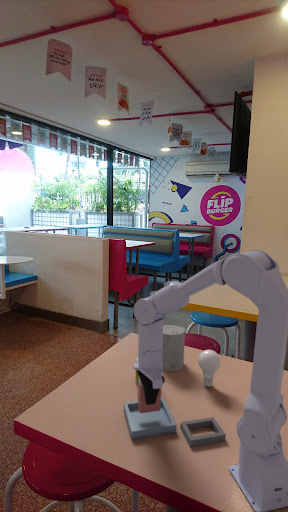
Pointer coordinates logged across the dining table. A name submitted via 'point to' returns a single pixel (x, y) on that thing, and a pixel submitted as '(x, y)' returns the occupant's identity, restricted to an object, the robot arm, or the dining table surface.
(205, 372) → the lightbulb
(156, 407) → the red and grey block
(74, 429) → the dining table surface
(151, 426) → the parts tray
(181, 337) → the speckled stone cylinder
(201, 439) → the grey rectangular frame
